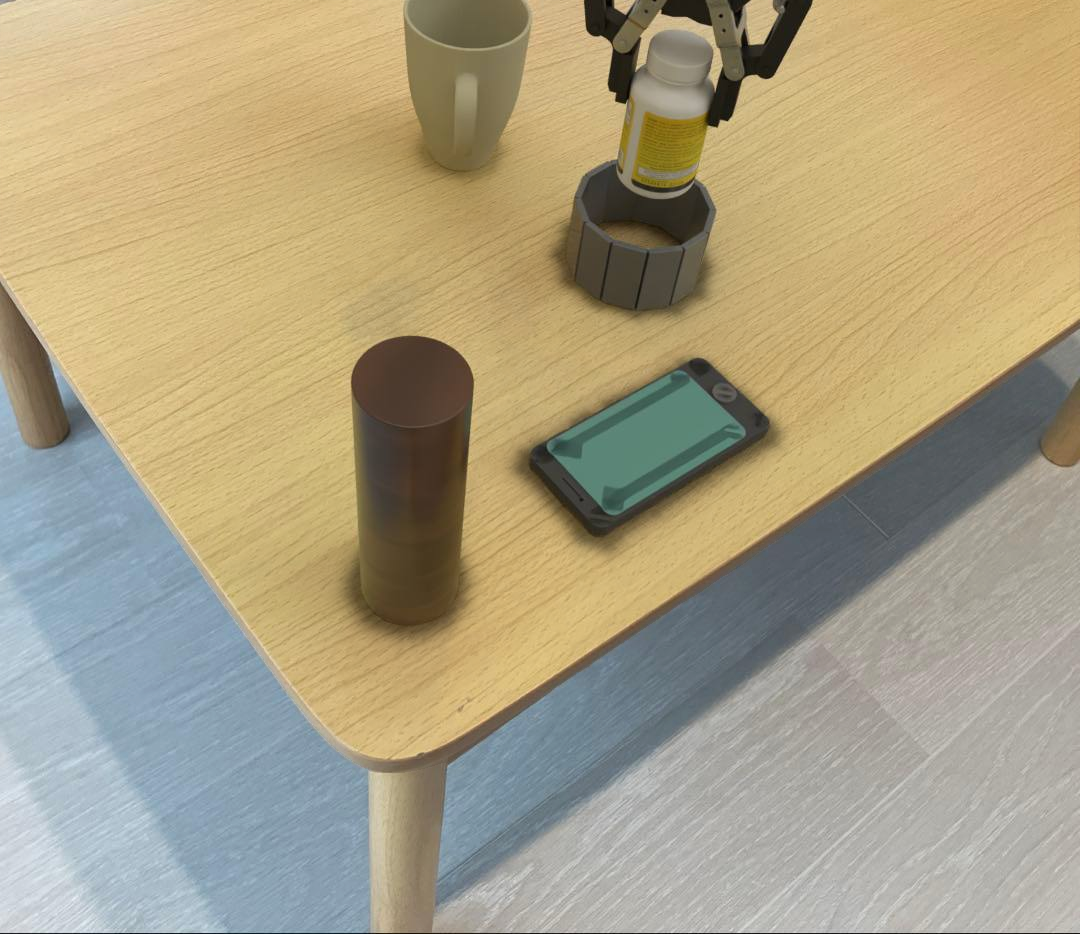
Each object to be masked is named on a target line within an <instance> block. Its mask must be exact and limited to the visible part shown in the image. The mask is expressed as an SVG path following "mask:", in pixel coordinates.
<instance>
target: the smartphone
mask: <svg viewBox="0 0 1080 934" xmlns="http://www.w3.org/2000/svg"><path fill="white" fill-rule="evenodd" d="M770 423H771V421H770V419H769V418H768V416H767V415H765V413H764V412H762V411H761V410H760V409H759V408H758V407H757V406H756V405H755V404H754V403H753V402H752V401H751V400H750V399H748V398H747V397H746V395H744V394H743V393H742V392H741V391H740V390H739V389H738V388H736V387H735V385H734V384H732V383H731V382H730V381H729V380H728V379H727V377H725V376H724V375H723V374H722V373H721V372H720V371H718V369H716V368H715V367H714V365H712V364H711V363H710V361H707V359H705V358H702V357H694V358H692V359H690V360H689V361H686V362H685V363H683V364H681V365H679V366H678V367H676V368H674V369H672V370H671V371H669V372H667V373H665V374H664V375H662V376H660V377H658V378H655V379H654V380H653V381H651V382H649V383H647V384H645V385H644V386H641V387H640V388H638V389H636V390H634V391H632V392H631V393H629V394H627V395H625V396H624V397H622V398H620V399H618V400H616V401H614V402H612V403H610V404H608V405H607V406H605V407H603V408H601V409H599V410H598V411H596V412H594V413H592V415H590V416H587V417H585V418H582V420H579V421H578V422H576V423H574V424H572V425H571V426H569V427H567V428H566V429H563V430H562V431H560V432H558V433H557V434H555V435H553V436H550V437H549V438H548V439H546V440H545V441H542V442H541V443H539V444H536V445H535V446H534V447H532V449H530V455H529V461H528V465H529V468H530V469H531V470H532V471H533V472H534V473H535V474H536V476H538V478H539V479H541V481H542V482H543V483H544V484H545V486H547V488H548V489H549V490H550V491H551V492H552V493H553V494H554V495H555V496H556V498H558V500H559V501H560V502H561V503H562V504H563V505H564V506H565V507H566V509H568V511H570V512H571V513H572V515H573V516H574V517H575V518H576V519H577V520H578V521H579V522H580V523H581V524H582V526H583V527H584V528H585V529H586V530H587V531H588V532H589V534H592V535H593V536H596V537H602V536H603V537H604V536H606V535H608V534H609V533H610V532H613V531H614V530H615V529H617V528H619V527H620V526H622V525H623V524H626V523H627V522H628V521H630V520H632V519H633V518H635V517H637V516H638V515H640V514H641V513H643V512H644V511H646V510H648V509H649V508H651V507H653V506H654V505H656V504H658V503H659V502H661V501H662V500H664V499H666V498H667V497H669V496H670V495H672V494H674V493H676V492H677V491H679V490H680V489H682V488H684V487H685V486H686V485H688V484H690V483H692V482H693V481H695V480H696V479H698V478H700V477H702V476H703V475H704V474H706V473H708V472H709V471H711V470H713V469H714V468H716V467H717V466H719V465H720V464H722V463H724V462H726V461H727V460H729V459H731V458H732V457H733V456H736V455H737V454H739V453H740V452H742V451H744V450H745V449H746V448H748V447H750V446H751V445H753V444H755V443H756V442H758V441H759V440H761V439H763V438H764V437H766V435H767V432H768V431H769V427H770Z"/></svg>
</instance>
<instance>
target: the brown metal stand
mask: <svg viewBox="0 0 1080 934" xmlns="http://www.w3.org/2000/svg"><path fill="white" fill-rule="evenodd" d="M474 390H475V380H474V374H473V371H472V369H471V366H470V364H469V363H468V360H466V359H465V357H464V356H463V355H462V354H461V353H460V352H459V351H457V349H455V348H454V347H453V346H451V345H449V344H448V343H446V342H443V341H441V340H438V339H436V338H432V337H429V336H422V335H400V336H394V337H391V338H386V339H385V340H381V341H379V342H377V343H376V344H374V345H372V346H371V347H369V348H368V349H367V350H365V352H363V353H362V354H361V355H360V357H359V358H358V360H357V361H356V363H355V364H354V367H353V369H352V372H351V376H350V395H351V415H352V416H351V417H352V433H353V435H352V437H353V453H354V474H355V493H356V495H355V496H356V497H355V498H356V514H357V515H356V516H357V517H356V518H357V534H358V536H357V537H358V554H359V555H358V556H359V574H360V575H359V576H360V588H361V590H360V591H361V593H362V597H363V599H364V601H365V603H366V605H367V606H368V607H369V608H370V609H371V611H372V612H374V614H376V615H377V616H379V617H380V618H381V619H384V620H385V621H388V622H390V623H393V624H397V625H404V626H416V625H421V624H425V623H428V622H431V621H433V620H436V619H437V618H439V617H440V616H442V615H443V614H444V613H445V612H446V611H447V610H448V609H449V608H450V607H451V605H452V604H453V602H454V601H455V598H456V596H457V594H458V591H459V579H460V569H461V568H460V567H461V555H462V541H463V529H464V518H465V506H466V505H465V504H466V491H467V478H468V468H469V467H468V466H469V453H470V442H471V427H472V414H473V403H474V402H473V401H474Z"/></svg>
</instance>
